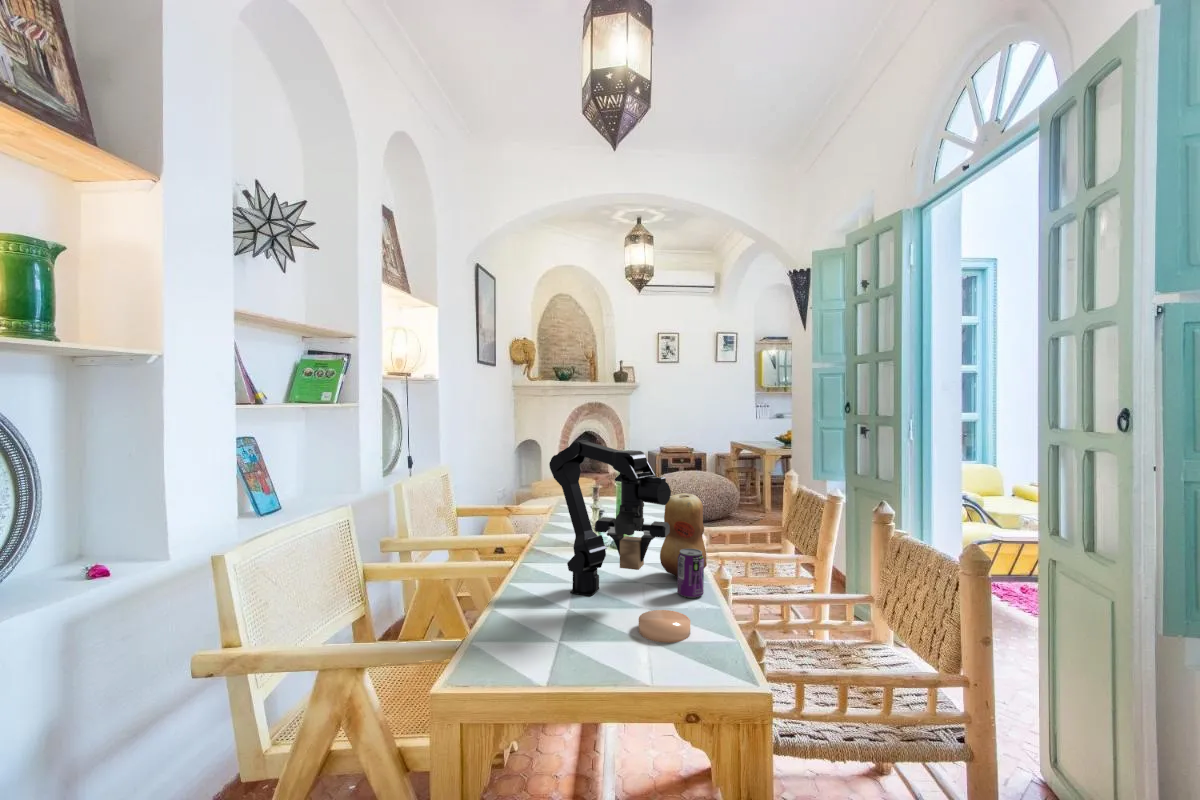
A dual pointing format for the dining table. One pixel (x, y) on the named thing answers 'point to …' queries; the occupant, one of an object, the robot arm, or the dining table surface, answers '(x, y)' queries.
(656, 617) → the terracotta disc
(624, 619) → the dining table surface
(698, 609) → the dining table surface
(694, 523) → the butternut squash
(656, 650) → the dining table surface
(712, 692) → the dining table surface
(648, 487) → the robot arm
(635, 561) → the walnut block
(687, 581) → the beverage can
